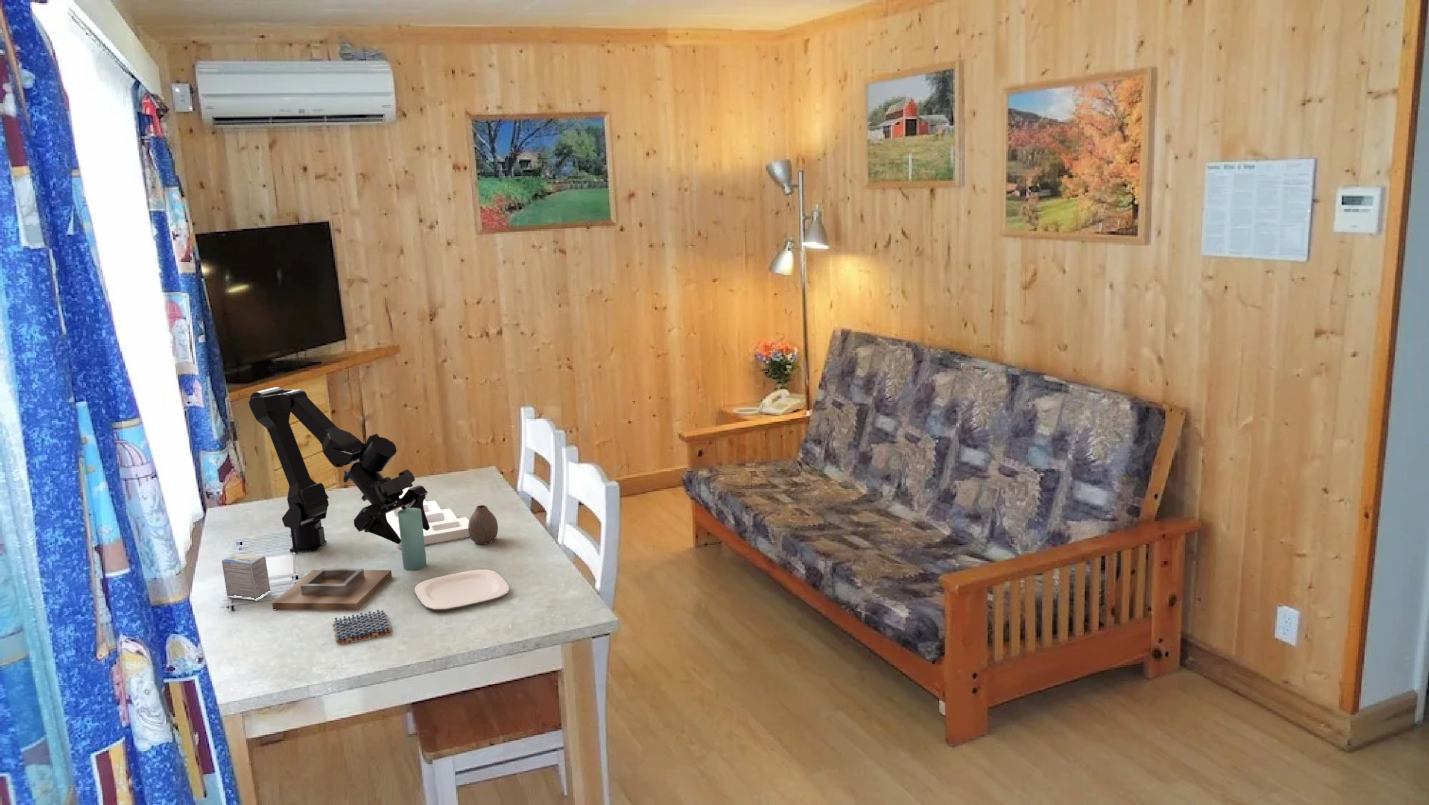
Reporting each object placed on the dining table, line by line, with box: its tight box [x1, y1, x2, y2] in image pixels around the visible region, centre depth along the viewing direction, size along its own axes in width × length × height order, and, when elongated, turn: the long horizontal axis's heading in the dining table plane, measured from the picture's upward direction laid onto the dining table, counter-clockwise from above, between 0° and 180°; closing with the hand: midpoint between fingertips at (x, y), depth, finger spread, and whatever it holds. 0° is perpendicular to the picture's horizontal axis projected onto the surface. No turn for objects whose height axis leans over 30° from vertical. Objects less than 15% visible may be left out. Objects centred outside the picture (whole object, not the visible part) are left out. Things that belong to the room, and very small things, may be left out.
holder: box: [386, 487, 470, 550], centre depth 272 cm, size 45×18×3 cm, turn 25°
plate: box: [414, 569, 511, 611], centre depth 221 cm, size 18×18×2 cm
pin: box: [398, 508, 427, 571], centre depth 236 cm, size 5×5×13 cm
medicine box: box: [221, 553, 272, 599], centre depth 223 cm, size 8×4×9 cm, turn 71°
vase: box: [468, 504, 499, 545], centre depth 251 cm, size 7×7×9 cm
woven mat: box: [332, 609, 393, 646], centre depth 205 cm, size 10×11×2 cm
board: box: [271, 568, 393, 611], centre depth 224 cm, size 18×18×4 cm
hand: (414, 536), depth 235 cm, fingers open, 9 cm apart
